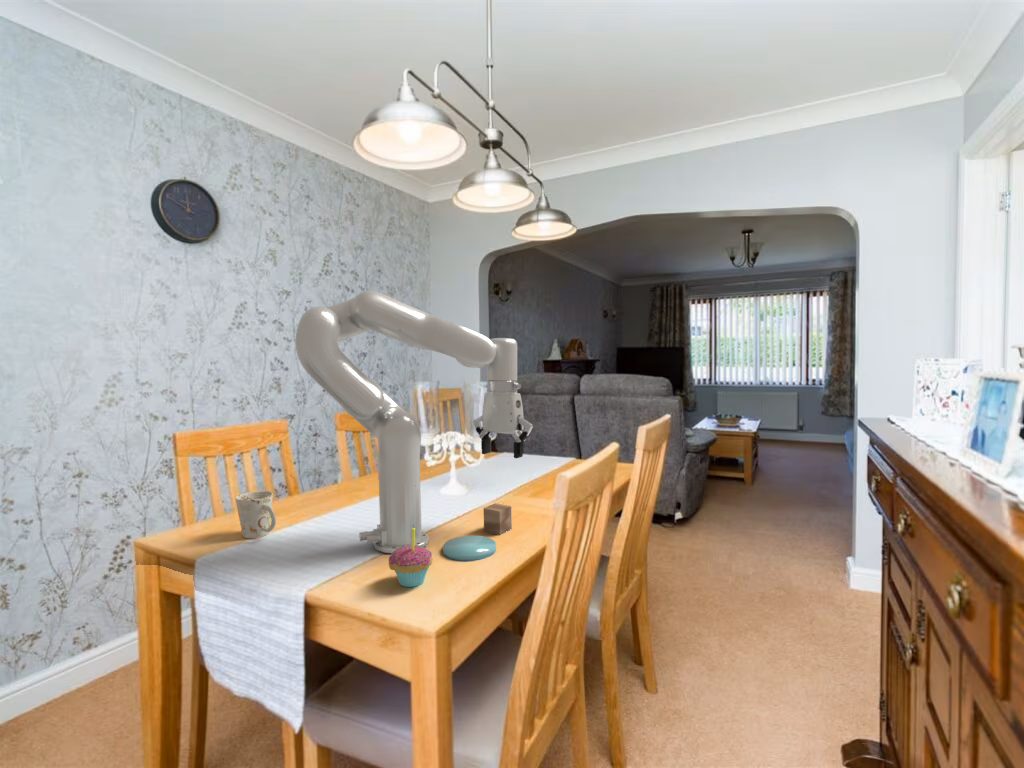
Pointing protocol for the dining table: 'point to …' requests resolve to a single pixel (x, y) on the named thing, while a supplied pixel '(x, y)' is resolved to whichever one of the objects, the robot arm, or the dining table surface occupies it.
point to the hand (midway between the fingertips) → (502, 455)
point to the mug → (256, 513)
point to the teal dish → (469, 548)
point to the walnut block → (497, 518)
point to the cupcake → (410, 563)
